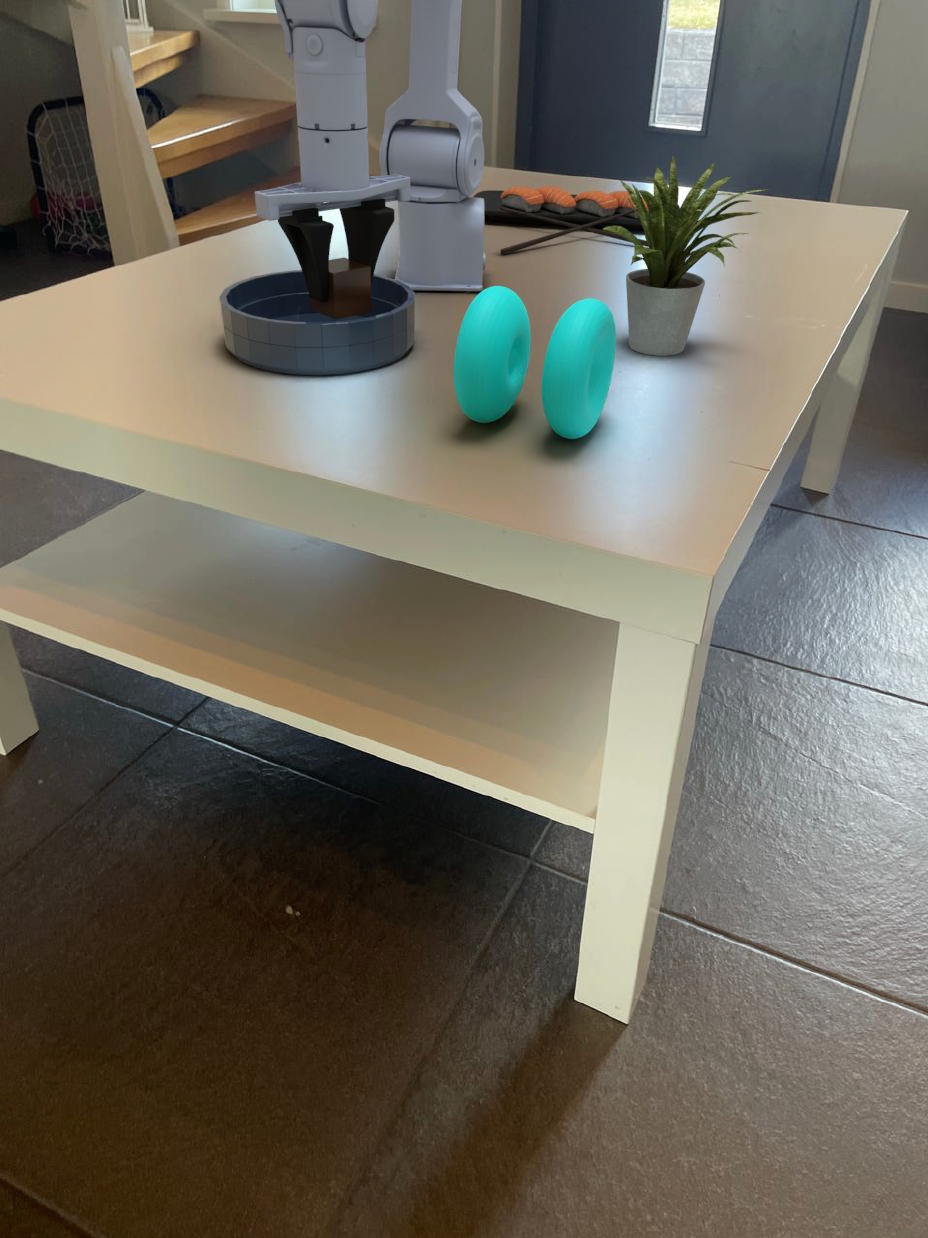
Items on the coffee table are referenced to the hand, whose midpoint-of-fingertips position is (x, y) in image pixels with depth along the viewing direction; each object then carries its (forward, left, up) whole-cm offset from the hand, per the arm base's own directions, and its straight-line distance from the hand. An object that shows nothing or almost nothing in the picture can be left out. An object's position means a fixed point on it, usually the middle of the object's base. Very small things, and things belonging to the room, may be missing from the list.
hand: (340, 294), depth 87 cm
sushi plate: (-26, -48, -5) cm, 54 cm away
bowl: (+2, 0, -4) cm, 5 cm away
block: (0, 0, -1) cm, 1 cm away
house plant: (-29, 0, -5) cm, 29 cm away
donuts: (-16, +18, -5) cm, 25 cm away
